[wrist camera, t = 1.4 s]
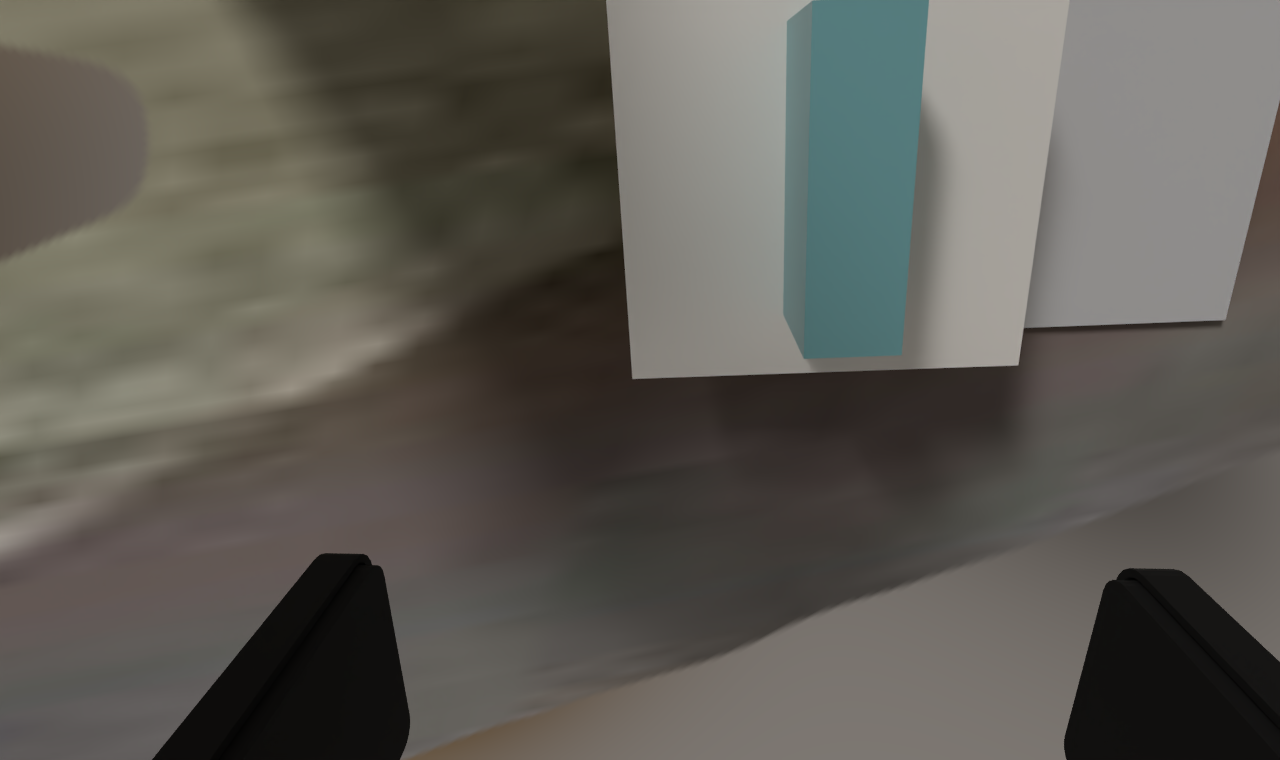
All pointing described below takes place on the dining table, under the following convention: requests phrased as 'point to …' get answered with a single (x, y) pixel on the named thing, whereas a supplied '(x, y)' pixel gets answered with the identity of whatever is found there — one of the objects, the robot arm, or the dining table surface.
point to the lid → (830, 180)
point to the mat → (1153, 159)
